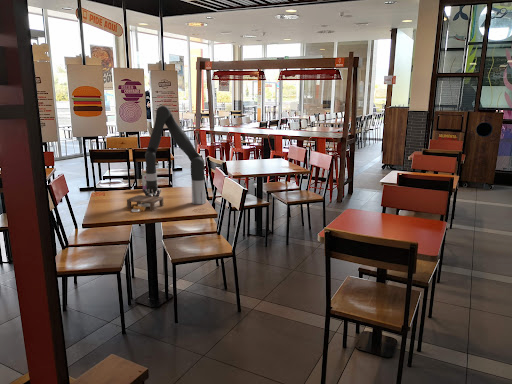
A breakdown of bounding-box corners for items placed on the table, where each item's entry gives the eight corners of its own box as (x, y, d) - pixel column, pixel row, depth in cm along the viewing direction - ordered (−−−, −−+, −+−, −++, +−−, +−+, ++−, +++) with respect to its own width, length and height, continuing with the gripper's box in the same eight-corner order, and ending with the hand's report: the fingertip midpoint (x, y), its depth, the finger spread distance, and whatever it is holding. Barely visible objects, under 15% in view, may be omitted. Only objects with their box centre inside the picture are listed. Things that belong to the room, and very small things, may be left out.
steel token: (142, 211, 272) (142, 208, 271) (137, 213, 266) (137, 211, 266) (135, 210, 274) (135, 207, 273) (129, 212, 268) (129, 210, 268)
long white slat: (163, 201, 295) (162, 197, 294) (144, 210, 271) (143, 205, 271) (153, 200, 298) (153, 196, 297) (133, 209, 274) (133, 204, 273)
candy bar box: (142, 190, 328) (141, 170, 324) (144, 189, 333) (143, 169, 329) (155, 191, 327) (154, 171, 323) (157, 189, 332) (156, 170, 328)
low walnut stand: (163, 205, 284) (163, 197, 283) (153, 210, 271) (152, 201, 270) (138, 203, 290) (138, 194, 288) (127, 208, 277) (126, 199, 275)
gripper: (162, 179, 287) (163, 202, 291) (145, 177, 290) (146, 201, 294) (157, 181, 280) (158, 205, 284) (139, 179, 283) (141, 203, 287)
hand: (152, 202), depth 289 cm, fingers closed on long white slat, 2 cm apart
